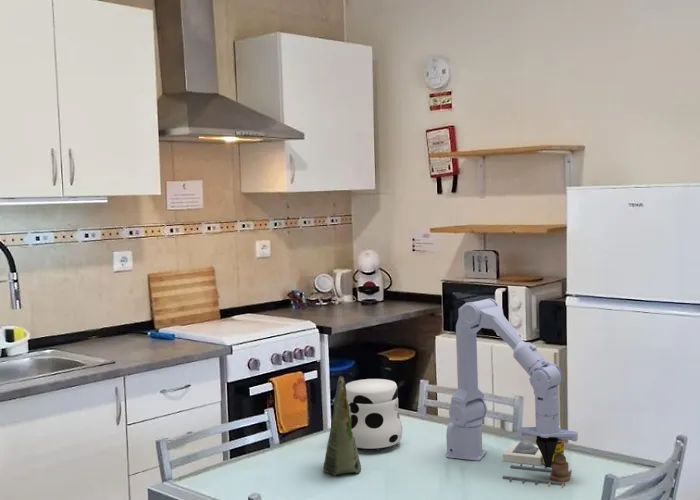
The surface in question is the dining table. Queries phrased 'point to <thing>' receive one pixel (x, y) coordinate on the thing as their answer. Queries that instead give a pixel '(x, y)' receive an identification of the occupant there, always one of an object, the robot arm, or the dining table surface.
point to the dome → (526, 447)
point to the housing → (522, 456)
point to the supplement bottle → (558, 448)
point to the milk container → (374, 413)
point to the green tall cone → (341, 437)
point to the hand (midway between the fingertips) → (548, 466)
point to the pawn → (560, 469)
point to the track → (534, 479)
